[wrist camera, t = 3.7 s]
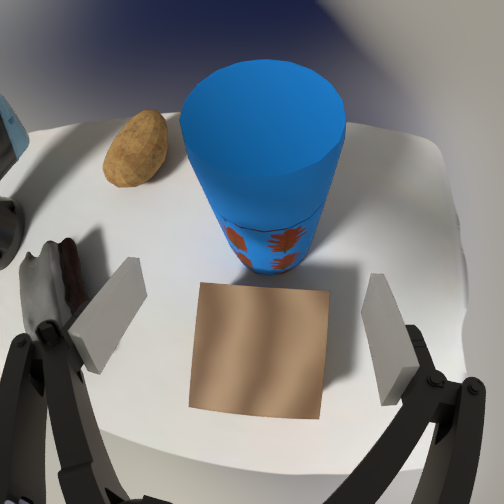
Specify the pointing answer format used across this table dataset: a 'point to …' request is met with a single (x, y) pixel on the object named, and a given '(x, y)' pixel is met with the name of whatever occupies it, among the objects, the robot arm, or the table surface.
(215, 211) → the thermos
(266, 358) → the small wooden stool
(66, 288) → the rock
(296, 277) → the table surface
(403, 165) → the table surface
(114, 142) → the potato
